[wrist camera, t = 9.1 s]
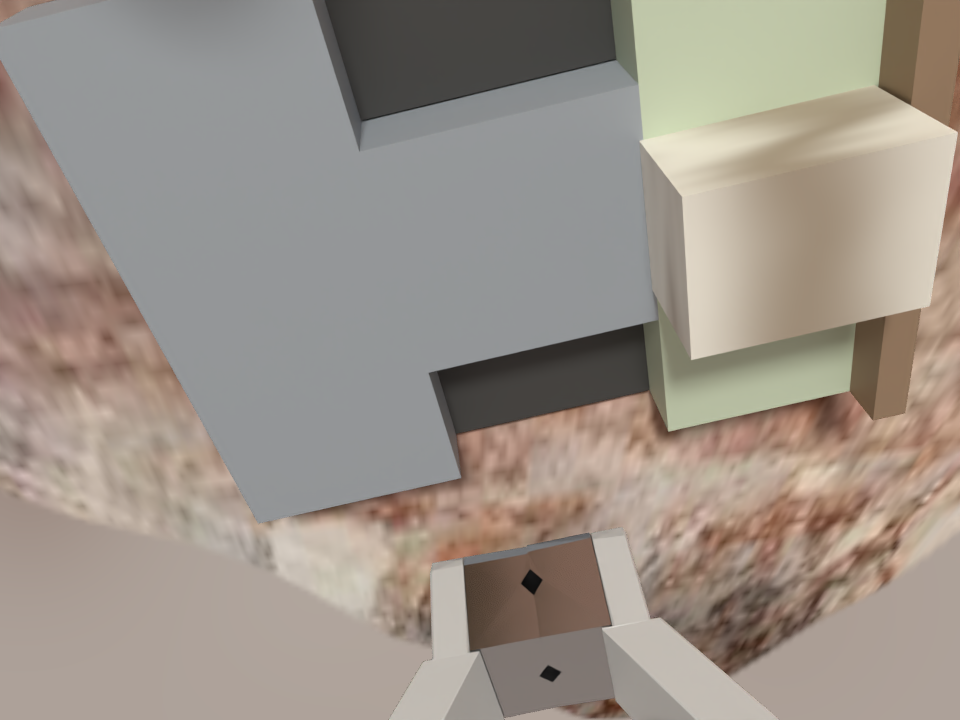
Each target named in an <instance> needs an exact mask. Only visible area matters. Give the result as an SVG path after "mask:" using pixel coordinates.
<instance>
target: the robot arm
mask: <svg viewBox="0 0 960 720" xmlns="http://www.w3.org/2000/svg"><path fill="white" fill-rule="evenodd" d="M430 588H431V629H432V659H431V660H427V661H423V662H422V664H421V665H420V667H419V669H418V671H417V672H416V674H415V676H414V677H413V679H412V681H411V682H410V684H409V686H408V687H407V689H406V691H405V693H404V694H403V696H402V698H401V699H400V701H399V703H398V704H397V706H396V708H395V710H394V711H393V713H392V715H391V716H390V718H389V720H505V719H504V718H506V717H511V716H516V715H520V714H525V713H530V712H535V711H540V710H544V709H550V708H554V707H559V706H566V705H572V704H579V703H586V702H592V701H599V700H605V699H612V698H615V699H616V702H617V703H618V704H619V705H620V706H621V707H622V708H623V709H624V711H625V712H626V713H627V714H628V715H629V716H630V717H631V719H632V720H779V719H778V718H777V717H776V716H775V715H774V714H772V713H771V712H770V711H769V710H768V709H767V708H765V707H764V706H763V705H762V704H761V703H760V702H758V701H757V700H756V699H755V698H754V697H753V696H752V695H750V694H749V693H748V692H747V691H746V690H744V689H743V688H742V687H741V686H740V685H738V684H737V683H736V682H735V681H734V680H733V679H732V678H731V677H729V676H728V675H727V674H726V673H725V672H724V671H722V670H721V669H720V668H719V667H718V666H717V665H715V664H714V663H713V662H712V661H711V660H710V659H709V658H707V657H706V656H705V655H704V654H703V653H702V652H700V651H699V650H698V649H697V648H696V647H695V646H693V645H692V644H691V643H690V642H689V641H688V640H686V639H685V638H684V637H683V636H682V635H681V634H679V633H678V632H677V631H676V630H675V629H674V628H672V627H671V626H670V625H669V624H668V623H667V622H666V621H664V620H663V619H662V618H661V617H660V618H653V619H651V618H650V614H649V611H648V607H647V604H646V600H645V597H644V593H643V590H642V586H641V583H640V579H639V576H638V572H637V569H636V566H635V562H634V559H633V555H632V552H631V548H630V545H629V541H628V538H627V534H626V532H625V530H624V529H623V527H619V528H614V529H609V530H604V531H599V532H594V533H591V534H589V533H585V534H580V535H575V536H571V537H566V538H561V539H556V540H551V541H547V542H542V543H537V544H532V545H527V547H523V548H517V549H511V550H505V551H499V552H493V553H487V554H481V555H475V556H469V557H464V558H458V559H453V560H447V561H442V562H436V563H432V567H431V572H430Z"/></svg>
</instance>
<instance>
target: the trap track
mask: <svg viewBox="0 0 960 720" xmlns="http://www.w3.org/2000/svg"><path fill="white" fill-rule="evenodd" d="M959 56H960V0H55V1H51V2H47V3H43V4H39V5H35V6H31V7H27V8H26V9H24V10H22V11H20V12H18V13H17V14H15V15H13V16H11V17H10V18H8V19H6V20H4V21H2V22H1V23H0V60H1V62H2V63H3V65H4V67H5V69H6V71H7V72H8V74H9V76H10V78H11V80H12V81H13V83H14V85H15V87H16V89H17V90H18V92H19V94H20V96H21V98H22V99H23V101H24V103H25V105H26V107H27V108H28V110H29V112H30V114H31V116H32V117H33V119H34V121H35V123H36V125H37V126H38V128H39V130H40V132H41V134H42V135H43V137H44V139H45V141H46V143H47V144H48V146H49V148H50V150H51V152H52V153H53V155H54V157H55V159H56V161H57V162H58V164H59V166H60V168H61V170H62V171H63V173H64V175H65V177H66V179H67V180H68V182H69V184H70V186H71V188H72V189H73V191H74V193H75V195H76V197H77V198H78V200H79V202H80V204H81V206H82V207H83V209H84V211H85V213H86V215H87V216H88V218H89V220H90V222H91V224H92V225H93V227H94V229H95V231H96V233H97V234H98V236H99V238H100V240H101V242H102V243H103V245H104V247H105V249H106V251H107V252H108V254H109V256H110V258H111V260H112V261H113V263H114V265H115V267H116V269H117V270H118V272H119V274H120V276H121V278H122V279H123V281H124V283H125V285H126V287H127V288H128V290H129V292H130V294H131V296H132V297H133V299H134V301H135V303H136V305H137V306H138V308H139V310H140V312H141V313H142V315H143V317H144V319H145V321H146V322H147V324H148V326H149V328H150V330H151V331H152V333H153V335H154V337H155V339H156V340H157V342H158V344H159V346H160V348H161V349H162V351H163V353H164V355H165V357H166V358H167V360H168V362H169V364H170V366H171V367H172V369H173V371H174V373H175V375H176V376H177V378H178V380H179V382H180V384H181V385H182V387H183V389H184V391H185V393H186V394H187V396H188V398H189V400H190V402H191V403H192V405H193V407H194V409H195V411H196V412H197V414H198V416H199V418H200V420H201V421H202V423H203V425H204V427H205V429H206V430H207V432H208V434H209V436H210V438H211V439H212V441H213V443H214V445H215V447H216V448H217V450H218V452H219V454H220V456H221V457H222V459H223V461H224V463H225V465H226V466H227V468H228V470H229V472H230V474H231V475H232V477H233V479H234V481H235V483H236V484H237V486H238V488H239V490H240V492H241V493H242V495H243V497H244V499H245V501H246V502H247V504H248V506H249V508H250V510H251V511H252V513H253V515H254V517H255V519H256V520H257V522H258V523H263V522H267V521H272V520H276V519H281V518H285V517H290V516H294V515H299V514H303V513H308V512H312V511H316V510H321V509H325V508H330V507H334V506H339V505H343V504H348V503H352V502H357V501H361V500H366V499H370V498H374V497H379V496H383V495H388V494H392V493H397V492H401V491H406V490H410V489H415V488H419V487H424V486H428V485H432V484H437V483H441V482H446V481H450V480H455V479H459V478H461V472H460V463H459V454H458V446H457V437H456V434H457V433H461V432H466V431H470V430H475V429H479V428H484V427H488V426H492V425H497V424H501V423H506V422H510V421H514V420H519V419H523V418H528V417H532V416H537V415H541V414H545V413H550V412H554V411H559V410H563V409H567V408H572V407H576V406H581V405H585V404H590V403H594V402H598V401H603V400H607V399H612V398H616V397H620V396H625V395H629V394H634V393H638V392H643V391H647V390H650V392H651V394H652V397H653V399H654V401H655V403H656V405H657V408H658V410H659V412H660V414H661V416H662V419H663V421H664V423H665V425H666V427H667V430H668V432H669V431H673V430H678V429H682V428H687V427H691V426H696V425H700V424H705V423H709V422H714V421H718V420H722V419H727V418H731V417H736V416H740V415H745V414H749V413H754V412H758V411H763V410H767V409H772V408H776V407H780V406H785V405H789V404H794V403H798V402H803V401H807V400H812V399H816V398H821V397H825V396H830V395H834V394H838V393H843V392H847V391H850V392H851V393H852V395H853V396H854V397H855V398H856V400H857V401H858V402H859V404H860V405H861V406H862V407H863V409H864V410H865V411H866V412H867V414H868V415H869V416H870V417H871V419H872V420H877V419H882V418H886V417H891V416H895V415H900V414H904V413H905V410H906V404H907V397H908V391H909V384H910V378H911V371H912V364H913V358H914V351H915V345H916V338H917V332H918V325H919V318H920V312H921V308H919V309H915V310H910V311H906V312H902V313H897V314H893V315H888V316H884V317H879V318H875V319H871V320H866V321H862V322H857V323H853V324H849V325H844V326H840V327H835V328H831V329H826V330H822V331H818V332H813V333H809V334H804V335H800V336H796V337H791V338H787V339H782V340H778V341H774V342H769V343H765V344H760V345H756V346H751V347H747V348H743V349H738V350H734V351H729V352H725V353H721V354H716V355H712V356H707V357H703V358H698V359H694V360H691V359H690V357H689V355H688V353H687V351H686V350H685V348H684V346H683V344H682V342H681V341H680V339H679V337H678V335H677V333H676V332H675V330H674V328H673V326H672V324H671V323H670V321H669V319H668V317H667V315H666V314H665V312H664V310H663V308H662V306H661V305H660V303H659V301H658V299H657V297H656V296H655V294H654V292H653V290H652V280H651V269H650V258H649V246H648V235H647V224H646V212H645V201H644V190H643V178H642V167H641V155H640V144H639V141H641V140H645V139H649V138H654V137H658V136H662V135H666V134H670V133H675V132H679V131H683V130H687V129H691V128H696V127H700V126H704V125H708V124H712V123H717V122H721V121H725V120H729V119H733V118H738V117H742V116H746V115H750V114H754V113H759V112H763V111H767V110H771V109H775V108H780V107H784V106H788V105H792V104H797V103H801V102H805V101H809V100H813V99H818V98H822V97H826V96H830V95H834V94H839V93H843V92H847V91H851V90H855V89H860V88H864V87H868V86H872V85H875V86H877V87H879V88H881V89H882V90H884V91H886V92H888V93H889V94H891V95H893V96H895V97H896V98H898V99H900V100H902V101H903V102H905V103H907V104H909V105H911V106H912V107H914V108H916V109H918V110H919V111H921V112H923V113H925V114H926V115H928V116H930V117H932V118H933V119H935V120H937V121H939V122H941V123H942V124H944V125H946V126H948V127H949V121H950V115H951V108H952V102H953V95H954V89H955V82H956V75H957V69H958V62H959Z"/></svg>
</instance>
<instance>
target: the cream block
mask: <svg viewBox="0 0 960 720" xmlns="http://www.w3.org/2000/svg"><path fill="white" fill-rule="evenodd" d="M957 134H958V132H956V131H955V130H953V129H951V128H949V127H948V126H946V125H944V124H942V123H941V122H939V121H937V120H935V119H933V118H932V117H930V116H928V115H926V114H925V113H923V112H921V111H919V110H918V109H916V108H914V107H912V106H911V105H909V104H907V103H905V102H903V101H902V100H900V99H898V98H896V97H895V96H893V95H891V94H889V93H888V92H886V91H884V90H882V89H881V88H879V87H877V86H875V85H872V86H868V87H864V88H860V89H855V90H851V91H847V92H843V93H839V94H834V95H830V96H826V97H822V98H818V99H813V100H809V101H805V102H801V103H797V104H792V105H788V106H784V107H780V108H775V109H771V110H767V111H763V112H759V113H754V114H750V115H746V116H742V117H738V118H733V119H729V120H725V121H721V122H717V123H712V124H708V125H704V126H700V127H696V128H691V129H687V130H683V131H679V132H675V133H670V134H666V135H662V136H658V137H654V138H649V139H645V140H641V141H639V144H640V155H641V167H642V178H643V190H644V201H645V212H646V224H647V235H648V246H649V258H650V269H651V280H652V290H653V292H654V294H655V296H656V297H657V299H658V301H659V303H660V305H661V306H662V308H663V310H664V312H665V314H666V315H667V317H668V319H669V321H670V323H671V324H672V326H673V328H674V330H675V332H676V333H677V335H678V337H679V339H680V341H681V342H682V344H683V346H684V348H685V350H686V351H687V353H688V355H689V357H690V359H691V360H694V359H698V358H703V357H707V356H712V355H716V354H721V353H725V352H729V351H734V350H738V349H743V348H747V347H751V346H756V345H760V344H765V343H769V342H774V341H778V340H782V339H787V338H791V337H796V336H800V335H804V334H809V333H813V332H818V331H822V330H826V329H831V328H835V327H840V326H844V325H849V324H853V323H857V322H862V321H866V320H871V319H875V318H879V317H884V316H888V315H893V314H897V313H902V312H906V311H910V310H915V309H919V308H924V307H928V306H930V302H931V295H932V289H933V283H934V277H935V271H936V264H937V258H938V252H939V246H940V240H941V233H942V227H943V221H944V215H945V209H946V202H947V196H948V190H949V184H950V178H951V171H952V165H953V159H954V153H955V147H956V140H957Z"/></svg>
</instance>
